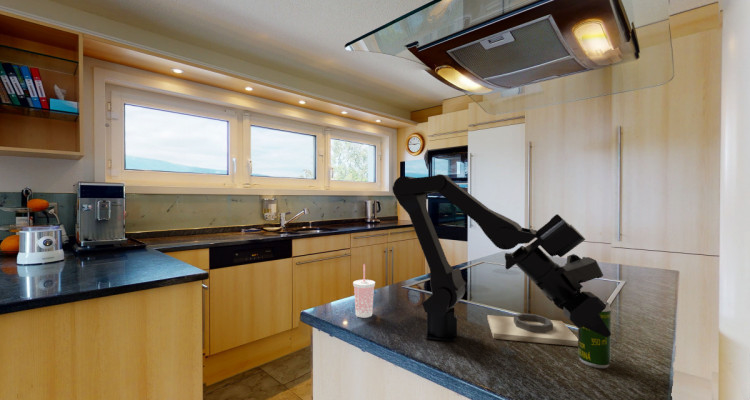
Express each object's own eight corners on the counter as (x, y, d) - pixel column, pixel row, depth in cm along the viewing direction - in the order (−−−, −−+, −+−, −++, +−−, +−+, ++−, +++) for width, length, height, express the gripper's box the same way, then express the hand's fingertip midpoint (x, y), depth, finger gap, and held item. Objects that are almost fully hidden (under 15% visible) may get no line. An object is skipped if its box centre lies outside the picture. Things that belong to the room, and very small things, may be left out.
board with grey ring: (493, 338, 75) (493, 326, 75) (487, 319, 87) (487, 309, 87) (580, 346, 72) (580, 334, 72) (561, 325, 83) (561, 315, 83)
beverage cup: (379, 313, 91) (379, 263, 91) (365, 320, 86) (366, 267, 86) (362, 309, 95) (362, 261, 95) (348, 315, 90) (348, 264, 90)
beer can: (595, 355, 68) (596, 297, 68) (617, 368, 62) (618, 305, 62) (571, 356, 67) (572, 297, 67) (591, 369, 62) (592, 306, 62)
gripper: (593, 251, 56) (667, 320, 54) (557, 238, 74) (612, 289, 72) (543, 293, 58) (612, 362, 56) (520, 270, 76) (572, 322, 74)
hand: (602, 329), depth 64 cm, fingers closed on beer can, 5 cm apart
